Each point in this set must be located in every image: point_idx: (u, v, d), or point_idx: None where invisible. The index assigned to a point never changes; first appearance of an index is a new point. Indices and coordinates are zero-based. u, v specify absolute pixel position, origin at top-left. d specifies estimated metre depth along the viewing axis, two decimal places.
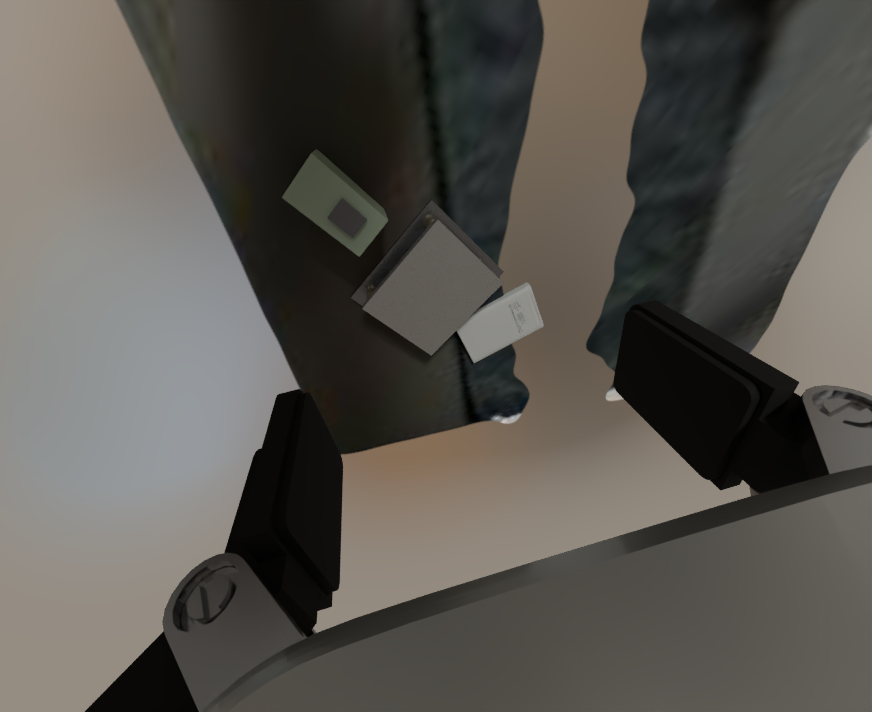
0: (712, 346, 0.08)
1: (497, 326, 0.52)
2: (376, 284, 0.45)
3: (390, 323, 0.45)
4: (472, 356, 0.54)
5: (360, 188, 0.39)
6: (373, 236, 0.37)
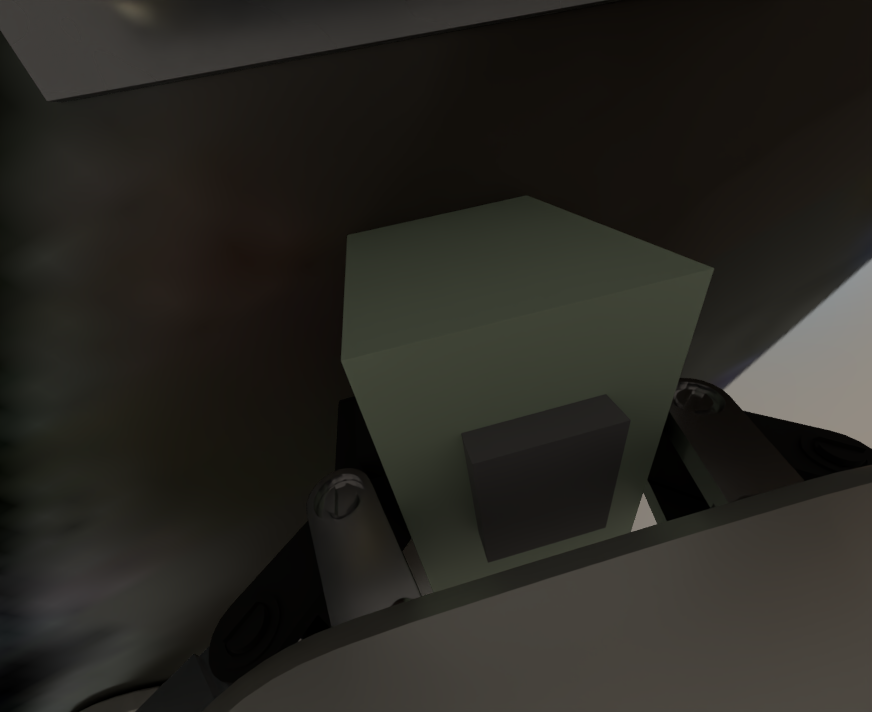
0: None
1: None
2: None
3: None
4: None
5: None
6: (519, 328, 0.04)
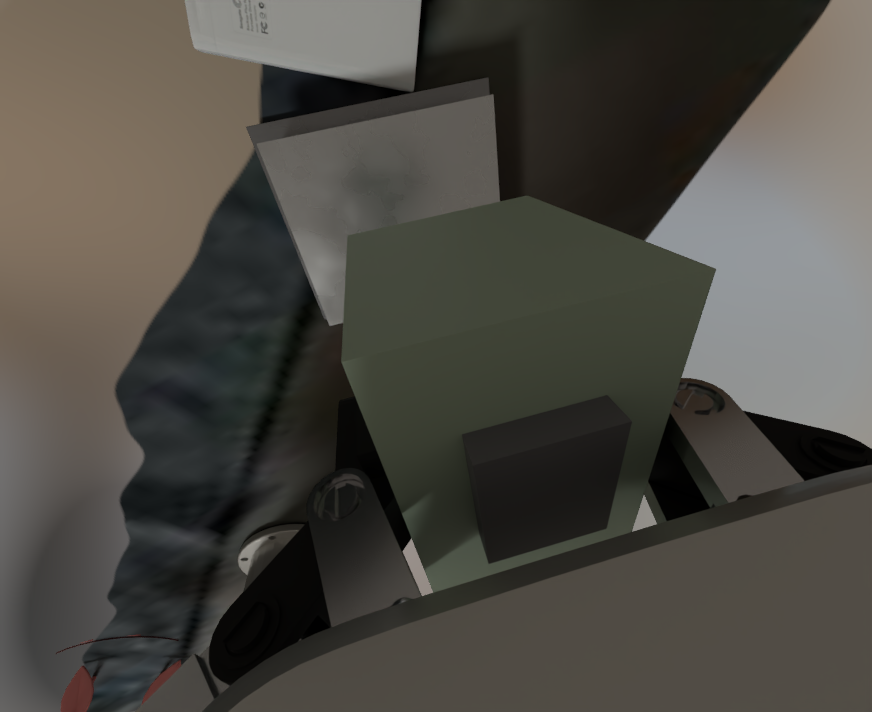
0: None
1: None
2: None
3: None
4: None
5: None
6: (520, 329, 0.04)
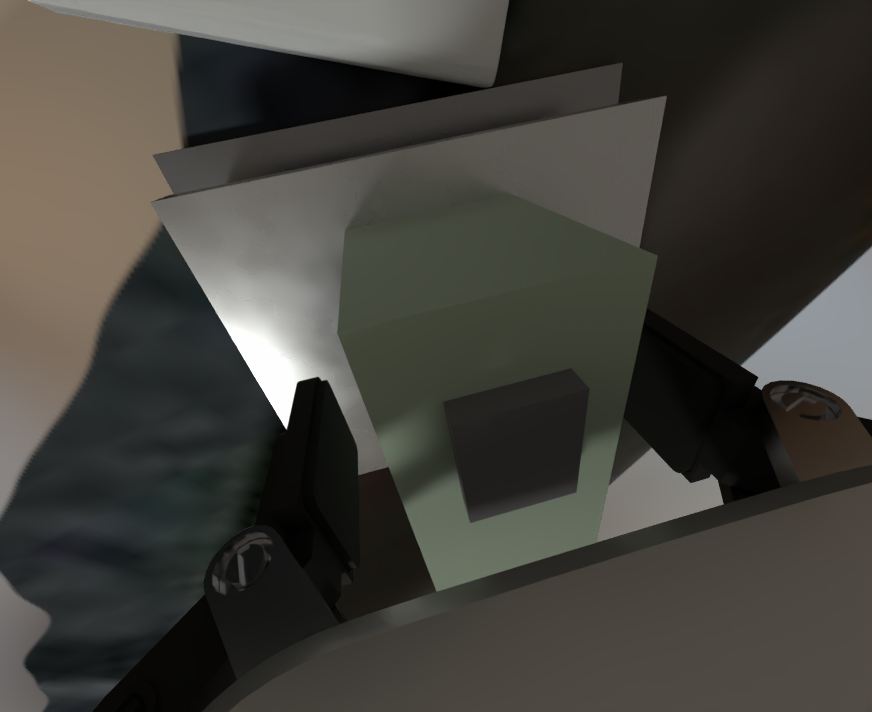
0: (680, 343, 0.08)
1: None
2: None
3: None
4: None
5: None
6: (489, 307, 0.05)
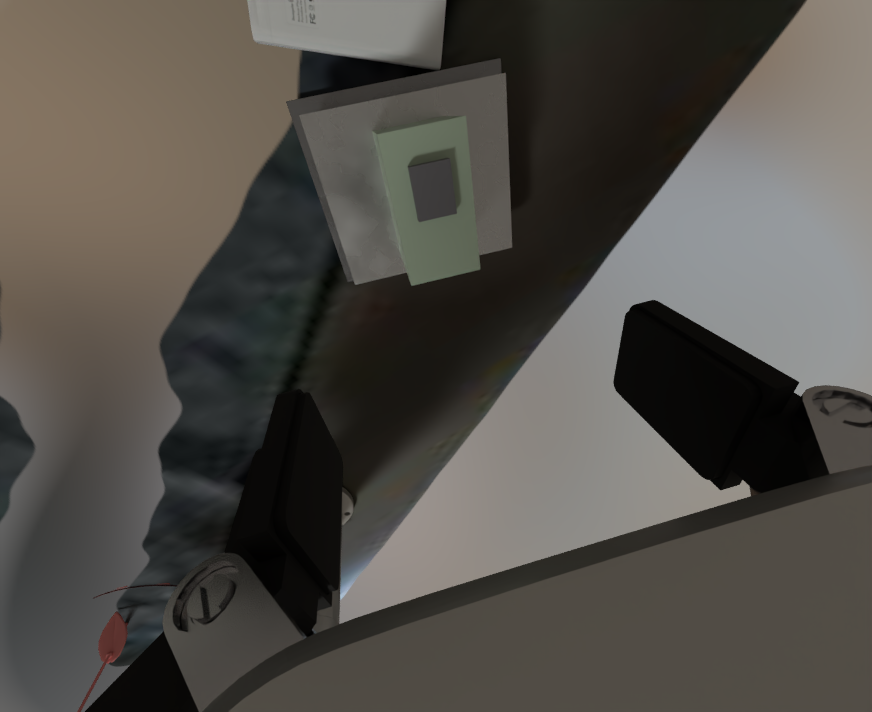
0: (712, 346, 0.08)
1: None
2: None
3: (504, 200, 0.28)
4: None
5: (385, 186, 0.25)
6: (418, 129, 0.19)
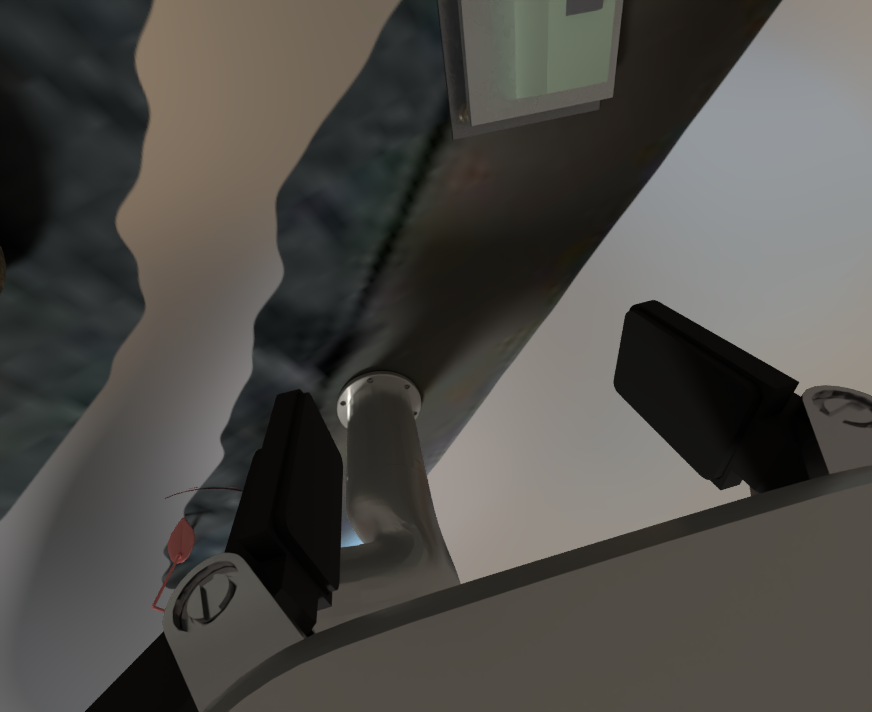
0: (712, 346, 0.08)
1: None
2: None
3: (613, 42, 0.31)
4: None
5: (517, 12, 0.28)
6: None
